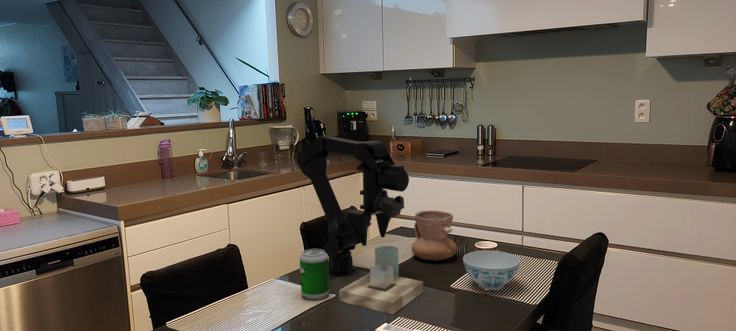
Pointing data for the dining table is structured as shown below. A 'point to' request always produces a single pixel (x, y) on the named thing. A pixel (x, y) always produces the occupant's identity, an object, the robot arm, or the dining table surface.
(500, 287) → the chinaware
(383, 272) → the square peg
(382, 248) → the round peg
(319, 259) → the soda can
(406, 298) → the socket plate
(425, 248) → the ceramic jug
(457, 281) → the dining table surface
